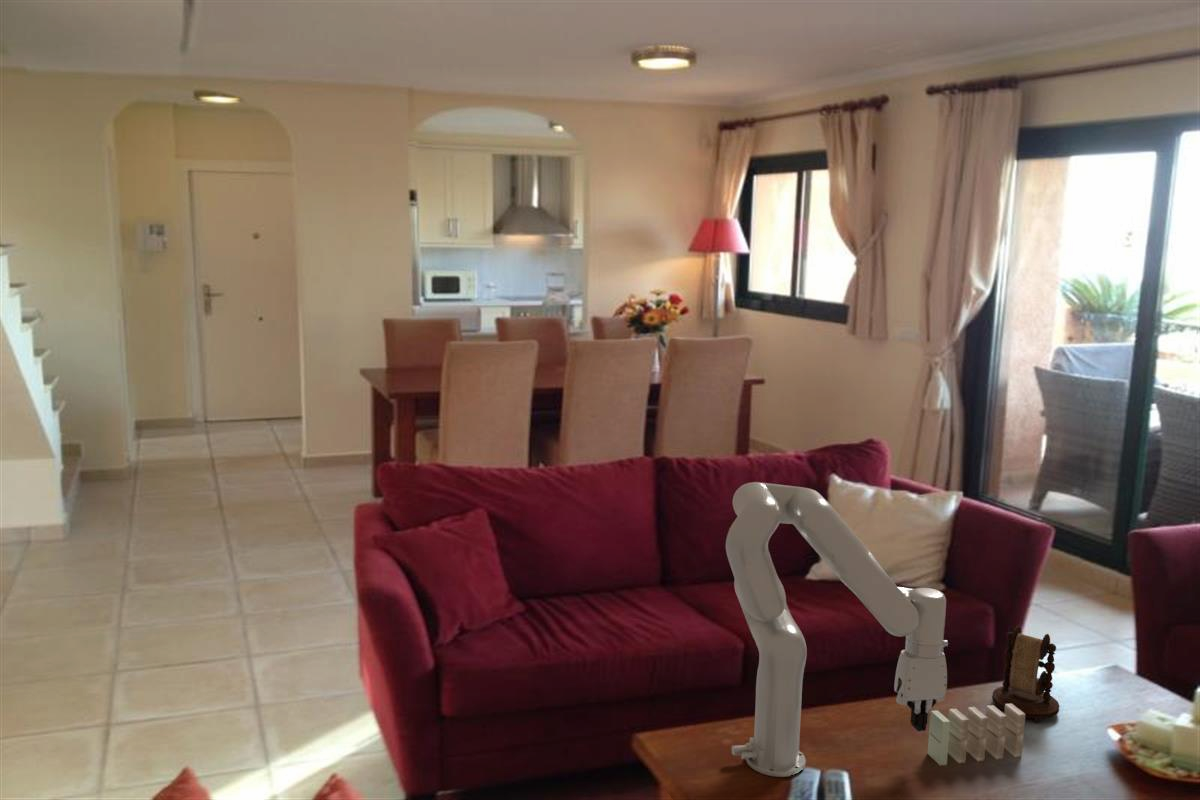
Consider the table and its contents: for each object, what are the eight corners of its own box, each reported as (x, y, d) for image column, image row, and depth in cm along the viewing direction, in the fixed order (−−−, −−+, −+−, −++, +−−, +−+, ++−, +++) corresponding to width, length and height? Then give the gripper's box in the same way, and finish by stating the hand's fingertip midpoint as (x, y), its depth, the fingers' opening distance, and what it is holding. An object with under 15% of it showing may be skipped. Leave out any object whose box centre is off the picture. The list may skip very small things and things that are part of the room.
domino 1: (939, 765, 212) (943, 722, 210) (927, 753, 216) (930, 710, 215) (946, 764, 212) (950, 721, 210) (934, 752, 217) (937, 710, 215)
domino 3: (977, 761, 213) (981, 718, 212) (964, 749, 218) (968, 707, 217) (984, 760, 214) (988, 717, 212) (971, 749, 219) (974, 706, 217)
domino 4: (996, 759, 214) (1000, 716, 213) (982, 747, 219) (986, 705, 217) (1003, 758, 215) (1006, 715, 213) (989, 747, 219) (993, 705, 218)
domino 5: (1014, 757, 215) (1018, 714, 214) (1001, 746, 220) (1005, 703, 218) (1021, 756, 216) (1025, 714, 214) (1007, 745, 220) (1011, 703, 219)
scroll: (981, 709, 237) (988, 630, 233) (1005, 689, 248) (1012, 613, 244) (1045, 731, 227) (1053, 648, 224) (1067, 709, 238) (1075, 630, 234)
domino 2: (958, 763, 213) (962, 720, 211) (946, 751, 217) (949, 709, 216) (965, 762, 213) (969, 719, 211) (952, 750, 218) (956, 708, 216)
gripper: (946, 637, 214) (940, 716, 217) (882, 642, 211) (877, 722, 214) (966, 651, 207) (959, 733, 210) (900, 657, 204) (894, 740, 207)
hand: (918, 727), depth 212 cm, fingers closed
